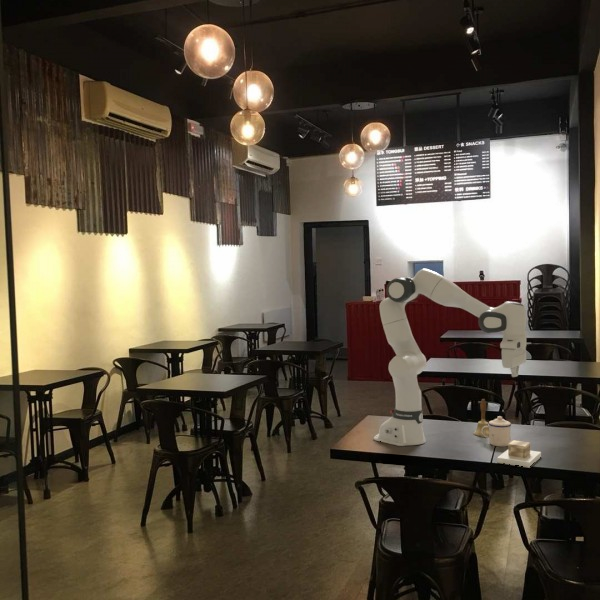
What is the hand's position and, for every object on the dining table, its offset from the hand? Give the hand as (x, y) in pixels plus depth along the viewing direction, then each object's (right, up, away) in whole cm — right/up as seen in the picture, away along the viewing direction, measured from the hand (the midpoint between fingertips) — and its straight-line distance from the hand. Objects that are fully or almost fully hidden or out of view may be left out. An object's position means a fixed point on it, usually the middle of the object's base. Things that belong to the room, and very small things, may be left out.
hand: (514, 376), depth 250 cm
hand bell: (-4, -30, +31) cm, 44 cm away
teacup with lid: (-2, -31, +16) cm, 35 cm away
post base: (-1, -32, -7) cm, 32 cm away
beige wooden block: (-1, -30, -8) cm, 30 cm away
